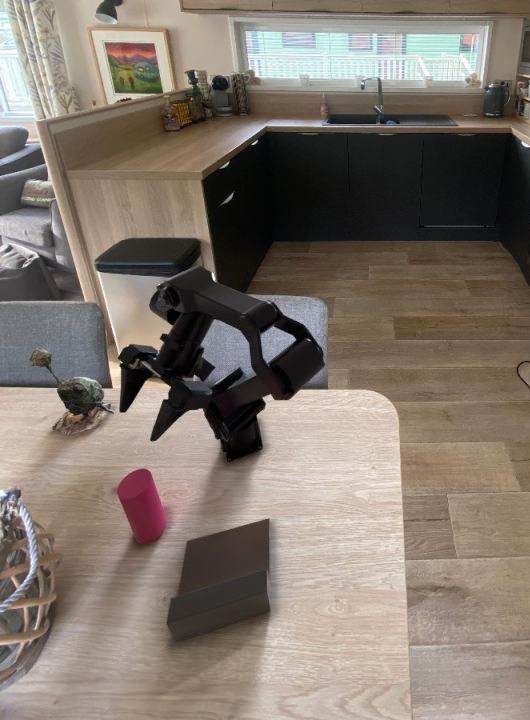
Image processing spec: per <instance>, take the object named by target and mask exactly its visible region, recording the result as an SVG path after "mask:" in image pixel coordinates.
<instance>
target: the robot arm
mask: <svg viewBox="0 0 530 720" xmlns="http://www.w3.org/2000/svg"><path fill="white" fill-rule="evenodd" d="M155 288H156V291H155V292H154V293H153V294H152V296H151V298H150V300H149V304H148V307H149V309H150V311H151V312H152V313H153V314H155V315H156V316H157V317H159V318H160V319H161V320H162V321H165V322H166V323H167V324H169V325H170V326H172V327H171V329H170V330H169V332H168V333H161V335H160V336H159V340H160V341H161V342H163V343H162V344H161V346H160V348H159V350H158V349H156V348H155V347H154V346H152V345H144V344H135V343H130V344H127V345H126V346H125V347H123V348H122V349H121V351H120V353H119V355H118V356H117V360H119V362H120V363H119V365H118V367H119V368H120V394H119V407H118V409H119V410H118V412H119V413H120V414H125V413H127V411H128V410H129V409H130V407H131V406H132V404H133V403H134V401H135V400H136V399H137V396H138V395H139V393H140V391H141V390H142V388H143V386H144V385H145V383H146V382H147V381H148V380H149V379H150V378H151V377H153V376H155V377H157V378H158V379H160V380H161V381H162V382H163V383H165V384H166V385H167V386H168V387H169V390H168V392H167V398H163V399H162V402H161V404H160V407H159V410H158V412H157V416H156V418H155V422H154V425H153V428H152V430H151V434H150V438H149V441H150V442H153V443H154V442H156V441H158V440H159V439H160V438H161V437H162V436H163V435H164V434H165V433H166V432H167V431H168V430H169V429H170V428H171V427H172V425H174V424H175V423H176V422H177V421H178V420H179V419H180V418H182V416H183V415H185V414H186V413H188V412H190V411H199V410H202V412H203V416H204V418H205V419H206V422H207V424H208V425H209V428H210V429H211V430H212V432H213V435H214V439H215V440H217V441H220V448H221V451H222V453H223V454H224V453H225V459H226V462H227V463H231V462H234V461H237V460H239V459H242V458H244V457H246V456H249V455H251V454H254V453H257V452H260V451H262V450H263V449H264V444H263V440H262V439H263V438H262V434H261V429H260V422H259V420H258V415H259V414H260V413H261V412H262V411H264V410H265V409H266V405H267V402H266V401H265V399H264V398H265V397H268V396H270V395H271V398H272V399H273V400H274V401H290V400H291V399H292V398H293V397H294V396H296V395H297V394H298V393H299V392H300V391H301V390H302V389H303V388H304V387H305V386H306V385H307V384H308V383H310V381H312V380H313V378H315V377H316V376H317V375H318V374H319V373H320V372H321V371H322V370H323V369H325V366H326V362H325V359H324V358H325V357H324V355H325V353H324V350H323V348H322V346H321V345H320V343H319V342H318V341H317V339H316V338H315V336H314V335H313V334H312V332H311V331H310V330H309V329H308V327H307V326H306V325H305V324H304V323H302V322H301V321H298V320H296V319H293V318H291V317H290V316H287V315H285V314H284V313H283V312H282V309H280V307H279V306H278V304H276V303H275V301H273V300H271V299H266V300H261V299H259V298H257V297H254V296H251V295H249V294H247V293H244V292H242V291H239V290H237V289H233V288H231V287H229V286H226V285H224V284H222V283H220V282H218V281H216V278H215V273H214V272H212V271H211V270H209V269H208V268H206V267H204V266H202V265H195V266H193V267H191V268H189V269H186V270H185V271H182V272H180V273H178V274H176V275H173V276H171V277H170V278H169V277H168V278H167V279H165V280H163V282H161V283H158V284H157V285H156V286H155ZM214 321H219V322H222V323H224V324H226V325H228V326H229V327H232V328H234V329H236V330H238V331H240V333H241V334H242V335H243V337H244V338H245V340H246V341H247V342H248V347H249V360H250V367H251V369H252V370H253V371H252V372H249V373H248V374H247V373H246V371H244V370H243V368H242V367H241V366H238V368H234V369H232V370H231V371H230V372H228V373H227V374H226V375H224V376H223V377H221V378H220V379H219V380H218V381H216V382H214V384H213V385H211V386H210V387H208V385H206V384H204V383H205V382H206V380H207V379H208V378H209V377H210V375H211V374H212V373H213V371H214V370H215V369H216V366H215V365H214V364H212V362H209V361H208V359H206V358H204V357H203V355H204V353H205V347H204V346H202V343H203V342H204V341H205V339H206V336H207V334H208V332H209V331H210V328H211V327H212V325H213V323H214ZM273 327H274V328H276V330H279V331H282V332H284V333H286V334H288V335H290V336H293V338H294V339H295V340H294V341H293V342H292V343H290V344H289V345H288V346H287V347H285V348H284V349H283V350H282V351H280V352H279V353H278V354H276V355H275V356H274V357H273V358H272V359H270V360H269V361H268V362H267V360H266V358H265V357H264V351H263V341H262V335H264V334H265V333H266V332H268V331H269V330H270V329H272V328H273ZM184 377H186V378H191V379H192V378H194V377H197V378H198V379H199V380H185V379H184Z"/></svg>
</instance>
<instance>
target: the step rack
mask: <svg viewBox="0 0 530 720" xmlns="http://www.w3.org/2000/svg"><path fill="white" fill-rule="evenodd" d="M271 611H272V524H271V519H270V517H268V518H265V519H260V520H257V521H254V522H250V523H246V524H243V525H239V526H235V527H232V528H227V529H225V530H222V531H218V532H214V533H211V534H207V535H203V536H200V537H195V538H193V539H189V540H187V541H186V544H185V551H184V557H183V562H182V569H181V575H180V581H179V587H178V593H177V595H176V596H173V597H170V602H169V606H168V612H167V617H166V623H165V624H166V626H167V628H168V631H169V633H170V636H171V638H172V641H173V643H179V642H181V641H184V640H187V639H190V638H192V637H196V636H199V635H201V634H205V633H207V632H211V631H214V630H217V629H219V628H223V627H226V626H228V625H233V624H235V623H238V622H241V621H244V620H247V619H250V618H253V617H256V616H259V615H262V614H265V613H267V612H271Z"/></svg>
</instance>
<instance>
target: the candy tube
mask: <svg viewBox="0 0 530 720" xmlns="http://www.w3.org/2000/svg"><path fill="white" fill-rule="evenodd" d="M116 495H117V498H118V500H119V502H120V505H121V508H122V509H123V512H124V514H125V517H126V519H127V521H128V524H129V527H130V529H131V531H132V534H133V536H134V538H135V541H136V542H137V543H138V544H140V545H148V544H151V543H152V542H154V541H156V539H158V538H159V537H160V536H161V535H162V534H163V532H164V531H165V529H166V526H167V524H168V517H167V515H166V512H165V508H164V506H163V503H162V500H161V498H160V494H159V491H158V489H157V486H156V483H155V480H154V478H153V474H152V472H151V471H150V470H149V469H147V468H137V469H134V470H133V471H131V472H129V473H127V474H126V475H125V476H124V477H123V478H122V479H121V481H120V482H119V483H118V485H117V489H116Z"/></svg>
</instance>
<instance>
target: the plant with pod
mask: <svg viewBox="0 0 530 720" xmlns="http://www.w3.org/2000/svg"><path fill="white" fill-rule="evenodd" d="M52 357H53V354H52V352H50V351H48V350H47V349H45V348H43V347H35V348H34V350H33V351H32V353H31V356H30V357H29V359H28V360H29V362H32V364H31V367H35V366H36V367H40V368H45V369H46V370H48V372H49V373H50V374H51V375H52V377H54V379H55V380H56V382H57V384H58V385H57V388H56V393H57V394H58V397H59V399H60V401H61V402H62V403H63V405H64V408H65V412H64V413H63V415H62V416H61V417H59V419H58V420H57V421H56V423H54V425H52V427H51V429H52V431H55V432H58V433H62V434H64V435H68V436H72V435H75V434H77V433H80V432H86V431H87V430H90V429H95V428H97V427H98V426H100V424H101V423H102V422H103V421H104V420H105V418H107V415H108V414H112V415H114V414H115V413H116V412H115V411H114V409H112V404H111V403H109V402H104V401H103V400H104V398H105V391H104V389H103V387H102V384H100V383H99V382H98V381H97V380H96V379H95V378H90V377H87V376H74V377H70V378H68V379H66V380H64V381H63V382H61V381H60V379H59V377H58V376H57V375H56V374H55V372H53V370H52V366H51V364H52Z"/></svg>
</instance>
